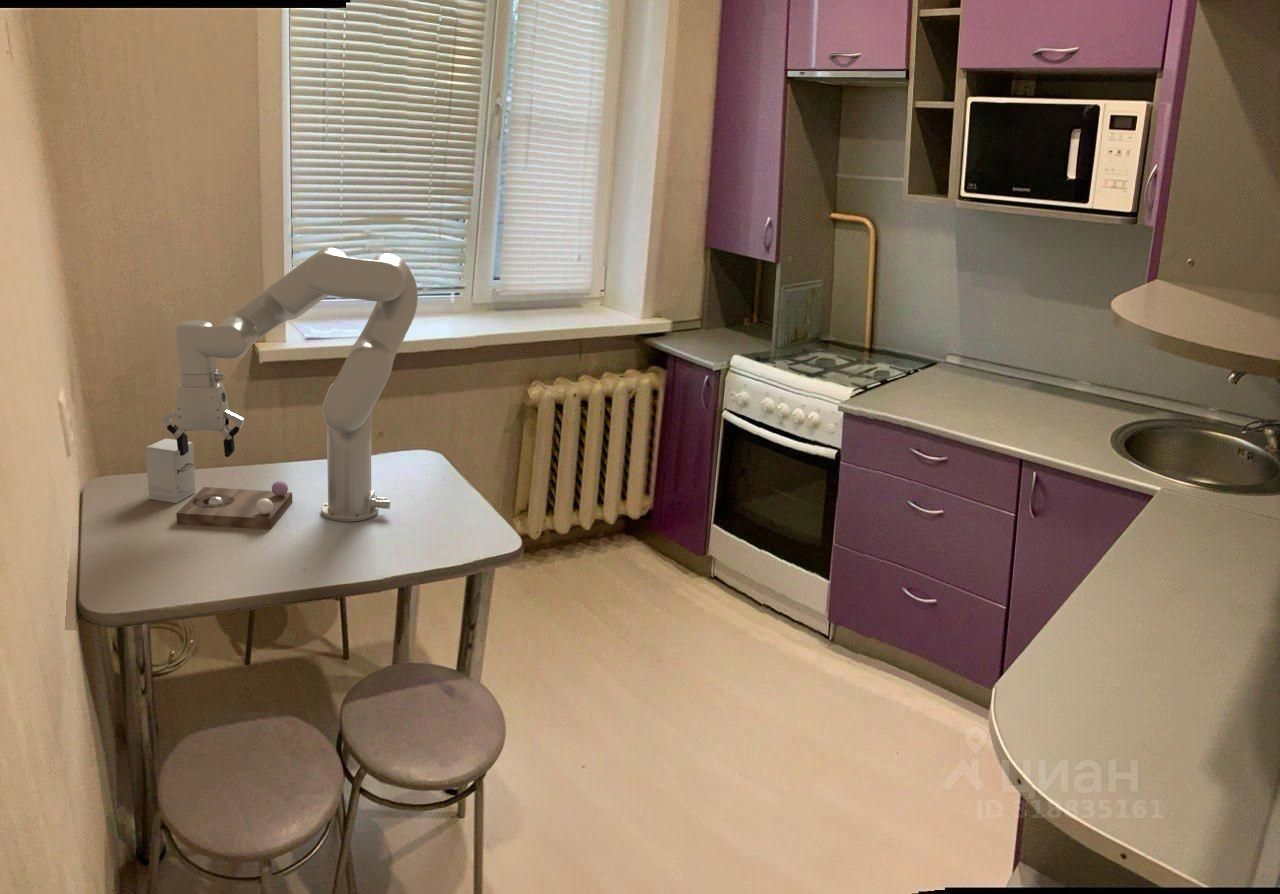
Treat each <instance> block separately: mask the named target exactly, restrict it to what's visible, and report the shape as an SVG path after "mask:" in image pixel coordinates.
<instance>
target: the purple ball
mask: <svg viewBox="0 0 1280 894" xmlns="http://www.w3.org/2000/svg"><path fill="white" fill-rule="evenodd" d="M271 491H272V492H273V494H275V495H276V496H283V495H285V494H286V493H287V492H288V491H289V486H288V484H287V483H286V482H285V481H282V480H277V481H275V482H274V483H273V484H272V486H271Z"/></svg>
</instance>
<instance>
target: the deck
mask: <svg viewBox="0 0 1280 894" xmlns="http://www.w3.org/2000/svg"><path fill="white" fill-rule="evenodd" d="M215 496H217V497H220V498H222V499H223V501H224V502H223V503H220V504H216V505H207V504H208V501H209V499H210V498H212V497H215ZM263 498H266V499H269V500H270V501H271V502H272V503H273V509H272V511H271V512H270V513H268V514H260V513H259V512H258V511H257V509H256V504H257V502H258V501H259V500H260V499H263ZM292 504H293V492H290V491H289V492H288V491H287V493H286V494H285V495H283V496H276V495H275V494H273V492H272V490H258V489H241V488H229V487H228V488H224V487H212V486H211V487H207V486H204V487H203V488H201V489H200V490H199V491H198V492H197V493H195V494H194V496H192V498H190V500H188V501H187V502H186V503H185V504H184V505H183V506H182V507H181V508H180V509H179V510H178V511H176V524H177V525H193V526H194V525H195V526H205V527H207V526H208V527H221V528H222V527H224V528H225V527H226V528H239V529H240V528H241V529H242V528H243V529H257V530H258V529H260V530H272V529H273V527H275V525H276V524H277V523H278V521H279V520H280V519H281V517H282V516H283V515H284V514H285V513H286V511H288V509H289V508H290V507H291V506H292Z"/></svg>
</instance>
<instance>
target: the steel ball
mask: <svg viewBox="0 0 1280 894" xmlns="http://www.w3.org/2000/svg"><path fill="white" fill-rule="evenodd" d="M223 502H224V501H223V499H222V498H220V497H217V496H215V497H212V498H210V499H209V501H208V504H207V505H216V504H220V503H223Z"/></svg>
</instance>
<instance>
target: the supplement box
mask: <svg viewBox="0 0 1280 894" xmlns="http://www.w3.org/2000/svg"><path fill="white" fill-rule="evenodd" d="M188 448H189V451H188V452H187V453H186V454H185V455H183V456H180V451H178V447H177V439H173V438H164V439H161V440H159V441H157V442H155V443H152V444H150V445H148V446H146V447H145V455H146V456H145V458H146V460H145V461H146V475H147V487H148V488H147V489H148V490H147V491H148V499H149V500H154V501H160V502H167V503H173V504H178V503H179V502H181V501H182V500H184V499H186V498H188V497H191V496H192V495H195V494H196V475H195V474H196V473H195V459H194V458H195V455H194V442H193V441H188Z"/></svg>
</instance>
